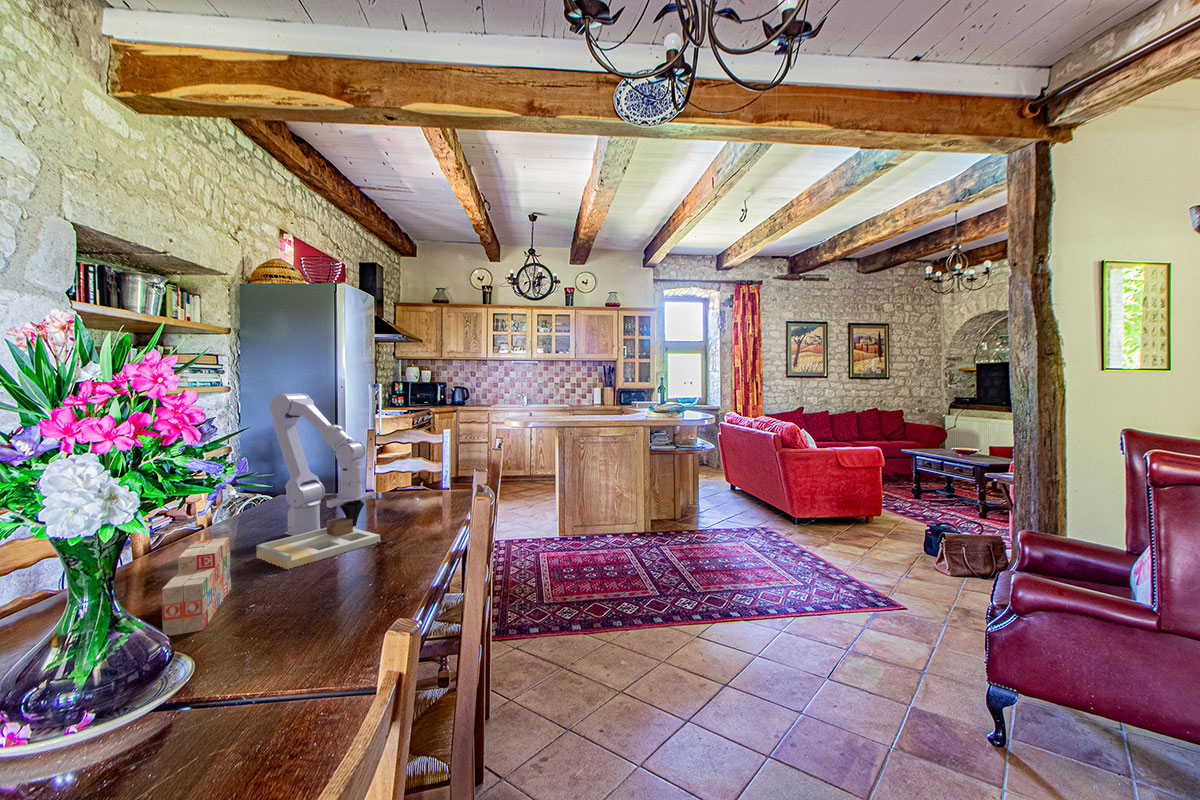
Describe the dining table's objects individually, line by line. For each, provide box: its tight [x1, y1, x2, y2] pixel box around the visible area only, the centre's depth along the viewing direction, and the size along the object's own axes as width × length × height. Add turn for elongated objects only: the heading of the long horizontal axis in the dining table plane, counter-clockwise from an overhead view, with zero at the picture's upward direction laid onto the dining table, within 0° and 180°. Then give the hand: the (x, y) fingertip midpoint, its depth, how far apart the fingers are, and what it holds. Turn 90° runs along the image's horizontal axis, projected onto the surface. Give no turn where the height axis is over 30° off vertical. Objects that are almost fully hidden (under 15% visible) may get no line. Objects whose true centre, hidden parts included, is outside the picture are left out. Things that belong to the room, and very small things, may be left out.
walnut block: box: [326, 516, 354, 537], centre depth 151 cm, size 5×5×4 cm
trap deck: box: [255, 527, 381, 570], centre depth 142 cm, size 16×26×4 cm, turn 148°
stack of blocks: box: [161, 537, 232, 637], centre depth 104 cm, size 21×6×12 cm, turn 25°
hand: (352, 526), depth 154 cm, fingers closed
